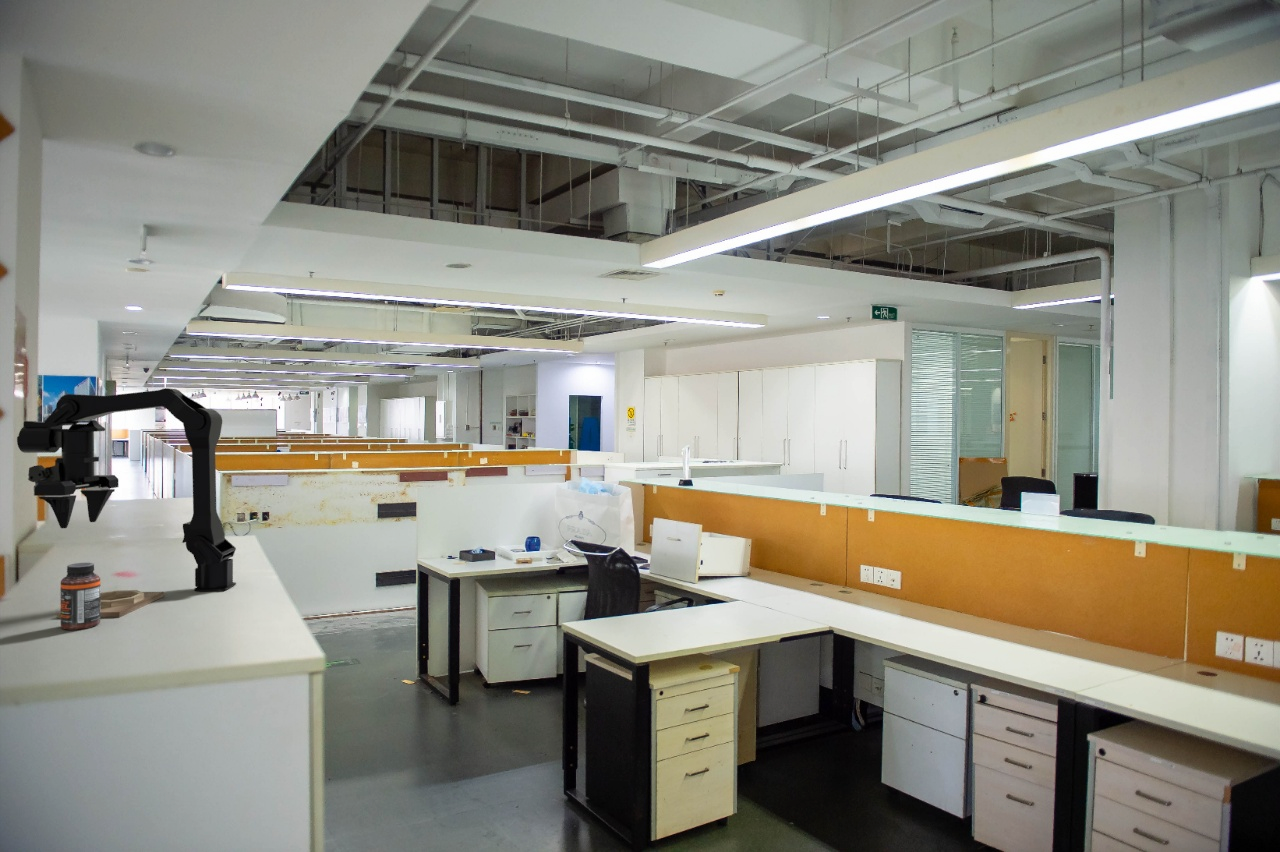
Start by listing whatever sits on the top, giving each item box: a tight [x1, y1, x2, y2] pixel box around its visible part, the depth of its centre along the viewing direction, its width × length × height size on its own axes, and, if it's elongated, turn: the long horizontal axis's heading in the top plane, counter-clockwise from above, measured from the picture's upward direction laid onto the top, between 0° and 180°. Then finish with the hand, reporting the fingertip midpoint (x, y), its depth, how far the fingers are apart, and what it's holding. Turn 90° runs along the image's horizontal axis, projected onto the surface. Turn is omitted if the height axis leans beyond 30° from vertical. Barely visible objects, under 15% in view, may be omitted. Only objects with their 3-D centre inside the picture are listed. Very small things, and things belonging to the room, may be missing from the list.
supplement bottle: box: [59, 562, 102, 631], centre depth 142 cm, size 6×6×11 cm
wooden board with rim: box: [56, 589, 165, 619], centre depth 157 cm, size 11×17×2 cm, turn 6°
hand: (78, 525), depth 169 cm, fingers open, 9 cm apart
